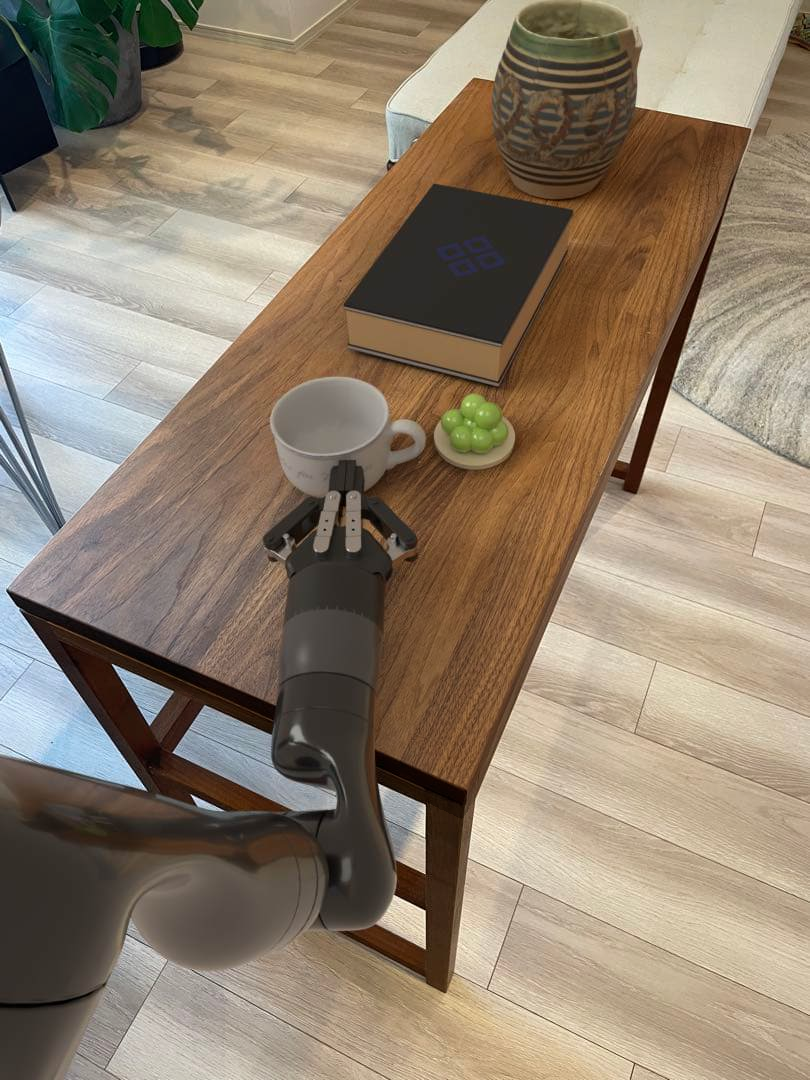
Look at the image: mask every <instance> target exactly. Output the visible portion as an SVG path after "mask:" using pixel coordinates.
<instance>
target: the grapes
mask: <svg viewBox="0 0 810 1080" xmlns="http://www.w3.org/2000/svg"><path fill="white" fill-rule="evenodd" d="M433 443H434V449H435V451H436V452H437V453H438V455H439V456H440V458H442V460H444V461H445V462H446V463H448V464H450V465H452V466H454V467H457V468H459V469H464V470H470V471H479V470H480V471H481V470H487V469H490V468H493V467H496V466H498V465H500V464H501V463H503V462H504V461H506V460H507V459H508V458H509V457H510V456H511V454H512V452H514V451H513V450H514V448H515V443H516V431H515V429H514V427H513V424H512V423H511V422H510V421H509V420H508V419H507V417H505V416H504V413H503V410H502V407H501V405H499V404H498V403H496V402H494V401H488V400H487V399H486V398H485V397H484V396H483V395H482V394H480V393H477V392H474V393H473V392H472V393H469V394H467V395H465V396H464V397H463V399H462V400H461V403H460V408H451V409H448V410H447V411H445V412H444V413H443V414H442V415H441V418H440V420H439V421H438V422H437V424H436V426H435V428H434V432H433Z"/></svg>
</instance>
